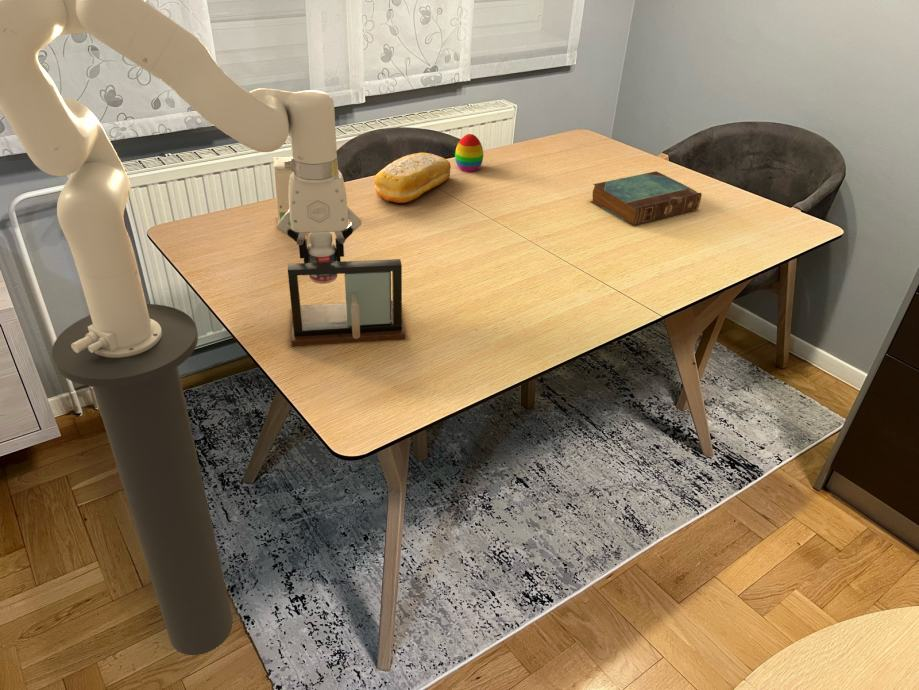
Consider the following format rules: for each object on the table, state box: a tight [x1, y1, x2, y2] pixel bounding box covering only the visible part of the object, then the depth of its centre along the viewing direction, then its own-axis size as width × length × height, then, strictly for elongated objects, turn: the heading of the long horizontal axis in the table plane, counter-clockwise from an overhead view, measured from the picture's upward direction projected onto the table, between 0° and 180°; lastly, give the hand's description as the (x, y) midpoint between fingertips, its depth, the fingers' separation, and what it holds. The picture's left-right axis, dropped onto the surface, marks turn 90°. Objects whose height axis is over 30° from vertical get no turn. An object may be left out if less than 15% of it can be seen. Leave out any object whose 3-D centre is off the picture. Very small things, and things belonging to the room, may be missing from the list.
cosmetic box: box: [273, 156, 294, 227], centre depth 173 cm, size 8×7×16 cm
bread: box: [374, 152, 452, 204], centre depth 196 cm, size 13×26×8 cm, turn 154°
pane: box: [344, 271, 390, 339], centre depth 131 cm, size 7×8×11 cm
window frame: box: [287, 258, 406, 347], centre depth 137 cm, size 12×21×15 cm, turn 100°
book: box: [590, 170, 703, 227], centre depth 194 cm, size 23×18×5 cm
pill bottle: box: [307, 232, 338, 285], centre depth 135 cm, size 5×5×9 cm
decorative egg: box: [454, 133, 484, 172], centre depth 210 cm, size 8×8×10 cm
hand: (322, 259), depth 135 cm, fingers closed on pill bottle, 5 cm apart
